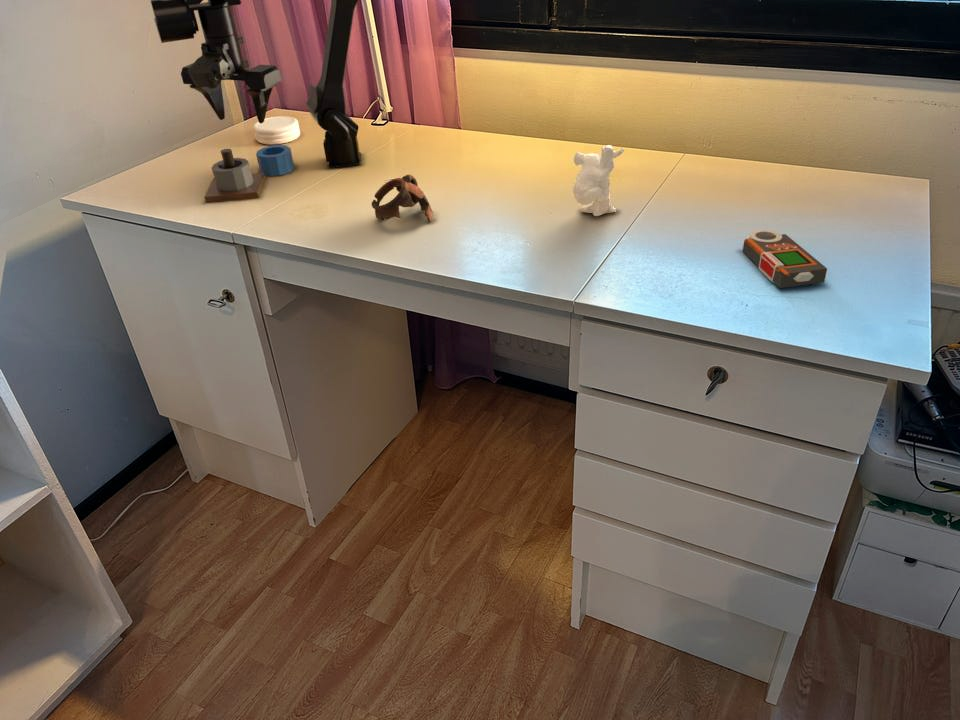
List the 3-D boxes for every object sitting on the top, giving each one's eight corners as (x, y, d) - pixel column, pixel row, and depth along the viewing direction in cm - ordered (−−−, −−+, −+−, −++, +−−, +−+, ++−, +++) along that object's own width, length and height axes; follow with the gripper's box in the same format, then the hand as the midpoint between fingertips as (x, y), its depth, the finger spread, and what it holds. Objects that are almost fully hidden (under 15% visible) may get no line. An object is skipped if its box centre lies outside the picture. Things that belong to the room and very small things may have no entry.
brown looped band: (434, 232, 125) (407, 198, 120) (390, 251, 129) (361, 219, 124) (441, 187, 133) (414, 154, 127) (399, 207, 137) (372, 175, 132)
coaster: (309, 132, 169) (306, 117, 167) (283, 147, 162) (279, 131, 160) (274, 128, 173) (270, 113, 171) (247, 143, 166) (243, 127, 164)
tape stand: (265, 177, 148) (256, 139, 143) (258, 197, 140) (248, 157, 135) (215, 182, 148) (204, 143, 143) (205, 202, 140) (193, 162, 135)
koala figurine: (626, 208, 128) (631, 141, 121) (610, 223, 123) (614, 154, 116) (582, 199, 132) (584, 134, 125) (565, 214, 127) (566, 147, 120)
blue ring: (295, 162, 154) (291, 143, 152) (292, 174, 149) (288, 155, 147) (263, 165, 154) (258, 146, 152) (258, 177, 149) (254, 158, 146)
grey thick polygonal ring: (255, 175, 146) (250, 156, 144) (250, 189, 141) (245, 169, 138) (220, 179, 146) (215, 159, 143) (214, 192, 140) (209, 172, 138)
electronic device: (778, 225, 114) (829, 267, 102) (775, 243, 116) (825, 286, 104) (737, 230, 114) (782, 272, 101) (734, 247, 115) (779, 291, 103)
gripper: (148, 43, 128) (175, 131, 137) (235, 47, 122) (257, 139, 131) (190, 28, 136) (212, 112, 146) (273, 31, 130) (291, 119, 140)
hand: (241, 121), depth 140 cm, fingers open, 9 cm apart
